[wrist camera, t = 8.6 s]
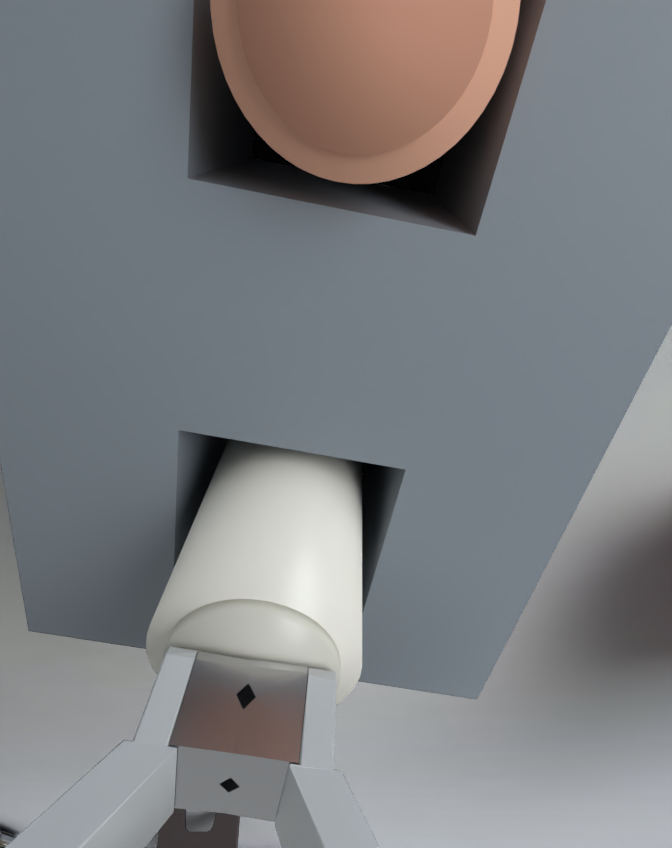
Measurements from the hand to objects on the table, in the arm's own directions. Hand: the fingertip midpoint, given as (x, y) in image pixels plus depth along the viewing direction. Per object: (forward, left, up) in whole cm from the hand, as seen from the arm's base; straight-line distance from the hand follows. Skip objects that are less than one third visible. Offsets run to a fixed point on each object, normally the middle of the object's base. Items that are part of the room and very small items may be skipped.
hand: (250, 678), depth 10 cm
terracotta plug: (-10, 0, -9) cm, 14 cm away
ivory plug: (0, 0, -7) cm, 7 cm away
